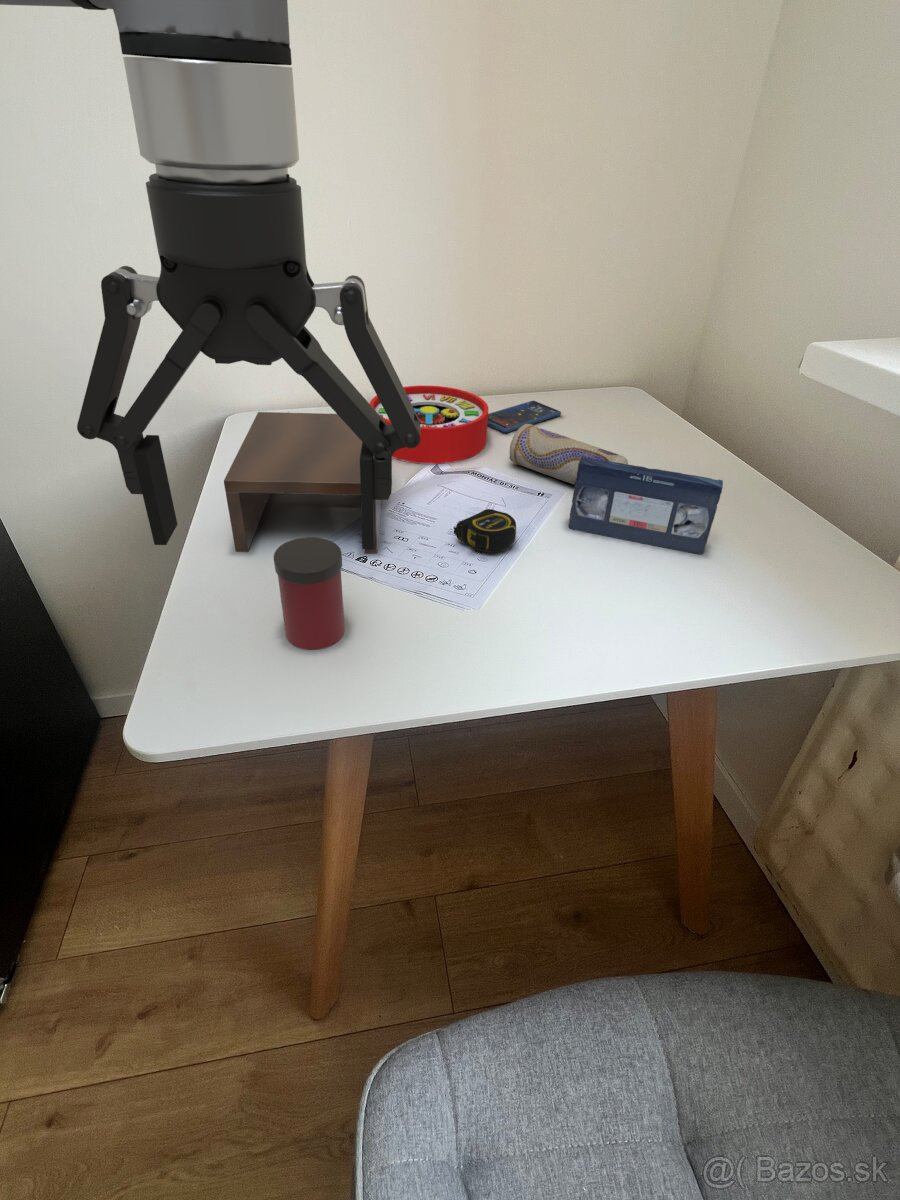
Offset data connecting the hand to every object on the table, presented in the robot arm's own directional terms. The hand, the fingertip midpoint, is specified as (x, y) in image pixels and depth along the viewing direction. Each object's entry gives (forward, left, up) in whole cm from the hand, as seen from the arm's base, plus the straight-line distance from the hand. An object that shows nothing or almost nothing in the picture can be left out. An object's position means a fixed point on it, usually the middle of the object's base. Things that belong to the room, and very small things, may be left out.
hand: (268, 537), depth 47 cm
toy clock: (+12, +72, -24) cm, 77 cm away
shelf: (-4, +46, -24) cm, 52 cm away
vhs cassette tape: (+40, +40, -24) cm, 61 cm away
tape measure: (+19, +38, -24) cm, 49 cm away
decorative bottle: (+35, +55, -24) cm, 70 cm away
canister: (-1, +19, -24) cm, 30 cm away
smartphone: (+29, +82, -24) cm, 90 cm away
